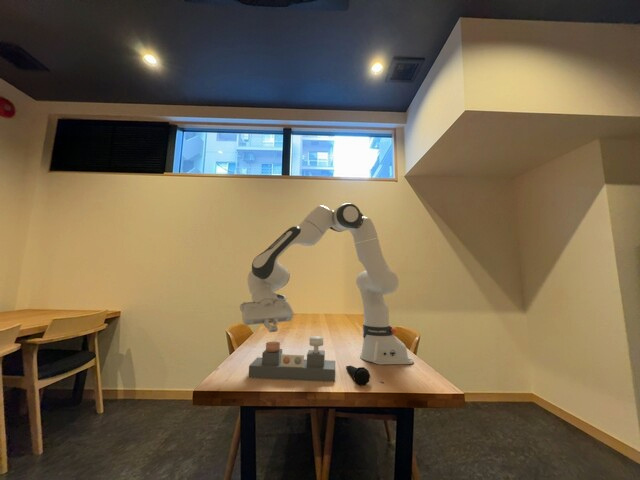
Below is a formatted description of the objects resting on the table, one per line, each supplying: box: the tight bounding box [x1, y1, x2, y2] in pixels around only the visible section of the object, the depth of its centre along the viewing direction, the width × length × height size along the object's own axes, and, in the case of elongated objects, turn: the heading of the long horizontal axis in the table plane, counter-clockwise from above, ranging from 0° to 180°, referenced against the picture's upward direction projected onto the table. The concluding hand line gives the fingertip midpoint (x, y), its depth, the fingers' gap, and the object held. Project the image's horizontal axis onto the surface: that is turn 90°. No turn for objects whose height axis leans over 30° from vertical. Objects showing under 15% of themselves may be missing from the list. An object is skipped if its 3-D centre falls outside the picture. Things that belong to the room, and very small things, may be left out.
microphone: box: [345, 365, 371, 386], centre depth 99 cm, size 6×6×20 cm
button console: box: [247, 348, 336, 383], centre depth 100 cm, size 30×10×8 cm, turn 86°
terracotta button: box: [265, 341, 281, 352], centre depth 101 cm, size 5×5×6 cm
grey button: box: [309, 335, 324, 354], centre depth 100 cm, size 5×5×6 cm
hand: (273, 331), depth 102 cm, fingers closed
